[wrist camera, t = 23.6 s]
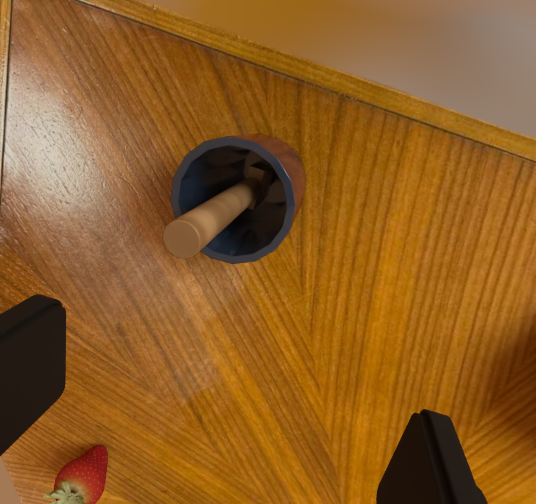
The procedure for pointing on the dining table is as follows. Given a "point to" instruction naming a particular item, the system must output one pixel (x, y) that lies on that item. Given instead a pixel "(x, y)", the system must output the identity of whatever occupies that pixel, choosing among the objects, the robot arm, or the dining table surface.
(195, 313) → the dining table surface
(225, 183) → the holder
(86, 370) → the dining table surface
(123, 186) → the dining table surface
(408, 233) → the dining table surface
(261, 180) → the stirring stick
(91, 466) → the fruit
